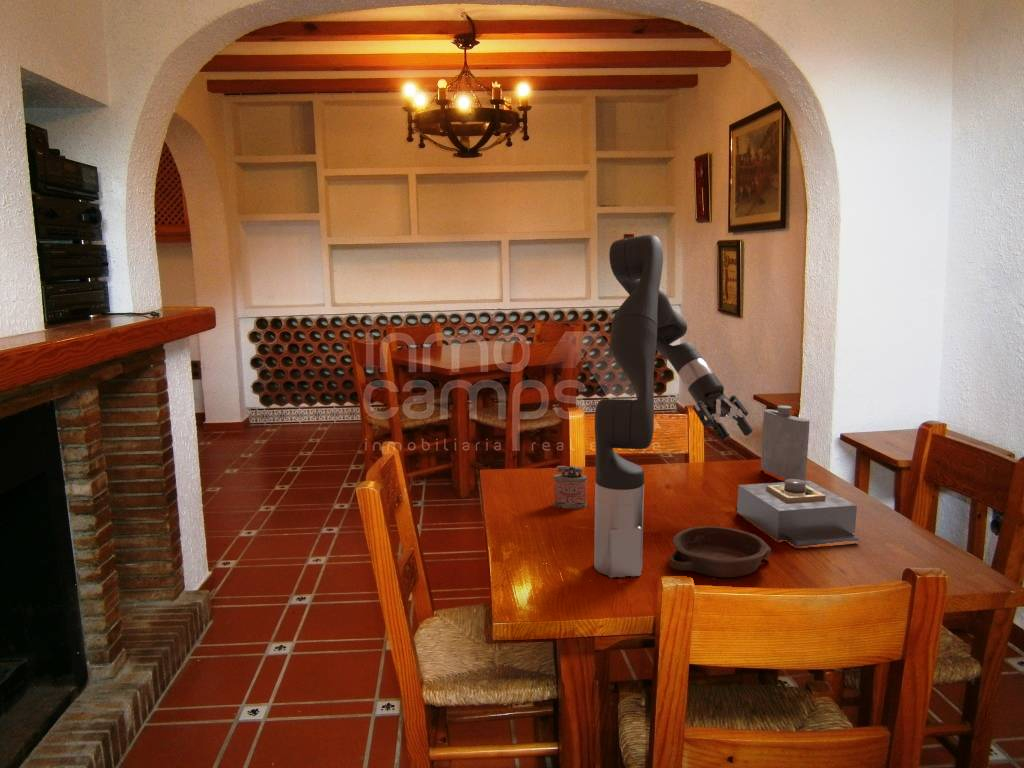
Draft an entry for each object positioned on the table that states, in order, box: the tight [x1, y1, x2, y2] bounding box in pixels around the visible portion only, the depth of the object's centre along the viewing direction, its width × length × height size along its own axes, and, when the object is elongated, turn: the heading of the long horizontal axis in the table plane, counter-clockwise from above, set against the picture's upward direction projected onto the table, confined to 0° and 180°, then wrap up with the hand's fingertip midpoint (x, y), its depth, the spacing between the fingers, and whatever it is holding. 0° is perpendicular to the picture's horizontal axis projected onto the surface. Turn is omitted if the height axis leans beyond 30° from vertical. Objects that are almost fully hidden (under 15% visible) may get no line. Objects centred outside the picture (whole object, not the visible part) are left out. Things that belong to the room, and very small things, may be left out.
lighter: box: [553, 464, 588, 509], centre depth 178 cm, size 8×3×10 cm, turn 84°
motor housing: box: [736, 480, 859, 547], centre depth 165 cm, size 26×18×8 cm
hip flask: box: [760, 405, 810, 481], centre depth 199 cm, size 16×4×20 cm, turn 21°
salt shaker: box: [784, 479, 806, 496], centre depth 165 cm, size 4×4×10 cm
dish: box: [669, 525, 772, 578], centre depth 144 cm, size 18×22×5 cm
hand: (738, 436), depth 172 cm, fingers open, 8 cm apart
